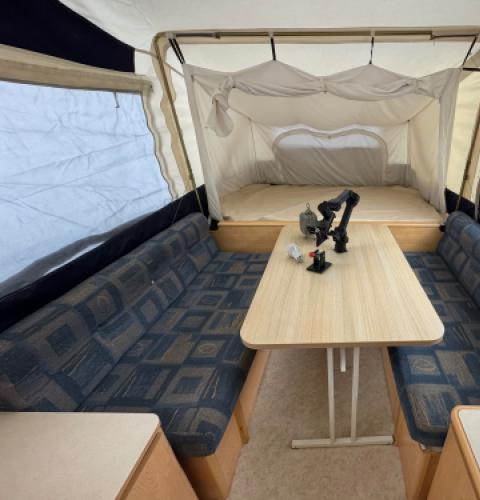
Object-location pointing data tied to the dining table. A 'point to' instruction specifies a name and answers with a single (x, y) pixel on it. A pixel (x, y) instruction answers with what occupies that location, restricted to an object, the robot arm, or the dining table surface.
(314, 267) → the switch bracket
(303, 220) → the grey lantern
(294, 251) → the spotlight
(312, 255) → the switch lever
